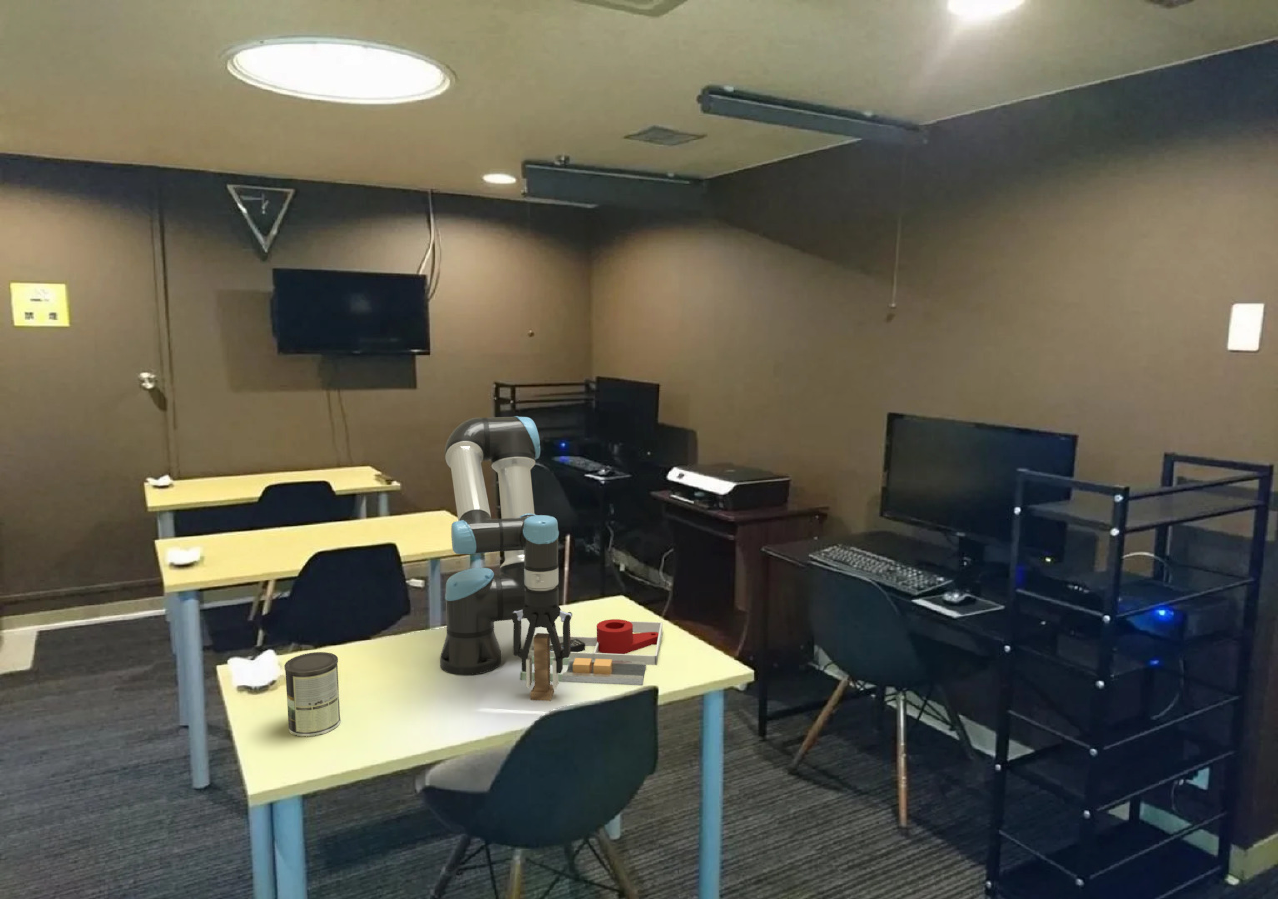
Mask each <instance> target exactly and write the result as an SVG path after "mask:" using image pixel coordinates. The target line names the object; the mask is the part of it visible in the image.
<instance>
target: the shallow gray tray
mask: <svg viewBox="0 0 1278 899" xmlns="http://www.w3.org/2000/svg"><path fill="white" fill-rule="evenodd" d="M574 660H575V659H569V661H568V665H567V666H568V668H567V670H566V672H565V671H563V673H562V674H563V675H562V682H563V683H565V682H566V683H582V684H583V683H585V684H587V683H588V684H606V685H609V684H610V685H611V684H612V685H630V686H631V685H634V686H643V683H644V680H645V675H646V669H647V665H646V662H639V661H616V660H612V673H611V674H593V665H594V663H595V660H592V671H591V673H573V663H574Z"/></svg>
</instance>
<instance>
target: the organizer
mask: <svg viewBox="0 0 1278 899" xmlns="http://www.w3.org/2000/svg"><path fill="white" fill-rule="evenodd" d="M628 621H629V622H631V623H632V624H633V633H646V632H658V633H659V635H658V641H657V645H655V646H656V647H655V653H654V655H652V654H629V653H626V654H609V653H601V652H599V643H598V642H597V636H575V635H573V636H571V635H570V640H574V639H578V640H580V641H581V642H583V643H585V647H586V646H587V647H594V649H593V652H586V651H585V652H584V651H580V652H571V653H570V655H569V657H568V658H570V659H575V658H590V659H592V660H596V659H612V660H616V661H639V662H646V666H647V665H648V666H649V665H650V666H657V664H658V658H659V653H660V647H661V643H662V638H663V637H662V636H663V622H662V621H661V622H659V621H639V620H638V621H635V620H634V621H633V620H628ZM535 635H536V634H534V636H533V639H532V643H531V647H530V650H529V654H528V656H529V655H532V656H534V637H535ZM558 638H559V641H560V643H562V642H563V635H558ZM550 645H552V643H551V640H550ZM550 657H555V654H554V651H550Z"/></svg>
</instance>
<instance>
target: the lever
mask: <svg viewBox="0 0 1278 899" xmlns="http://www.w3.org/2000/svg"><path fill="white" fill-rule="evenodd" d="M629 621H630V620H625V619H620V618H619V619H618V618H616V619H615V618H613V619H605V620H602V621H599V622H598V623H597V624H596V637H597V642H598V643H599V652H598V653H609V654H629V653H632V652H635V651H637V650H641V649H643V648H647V647H650V646H657V641H658V635H659V633H658V632H646V633H640V632H633V624H632V623H631V622H629Z"/></svg>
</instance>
